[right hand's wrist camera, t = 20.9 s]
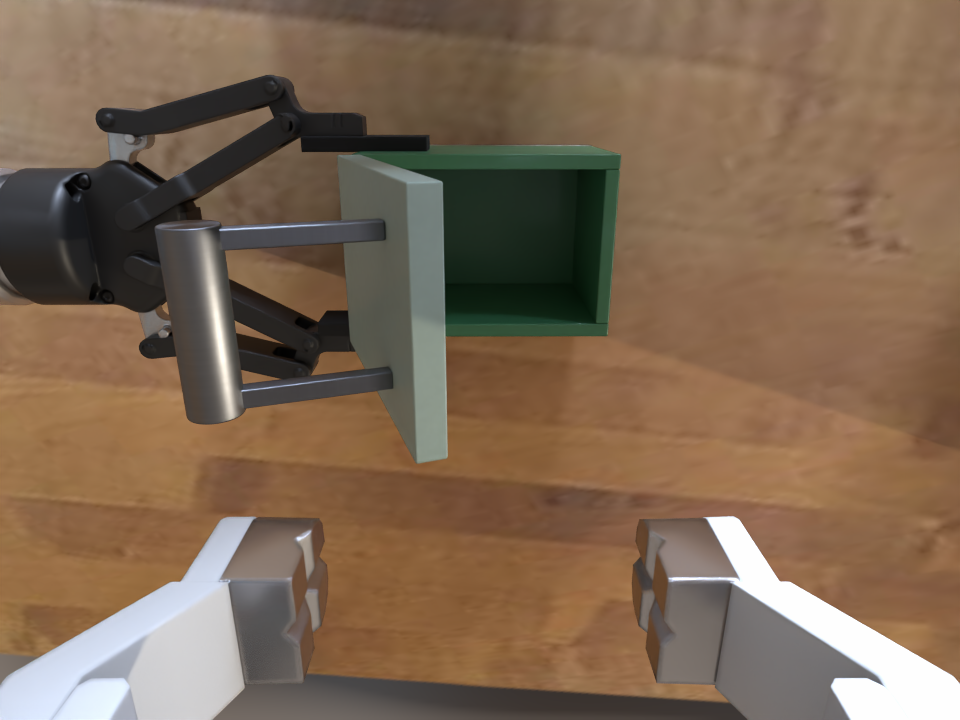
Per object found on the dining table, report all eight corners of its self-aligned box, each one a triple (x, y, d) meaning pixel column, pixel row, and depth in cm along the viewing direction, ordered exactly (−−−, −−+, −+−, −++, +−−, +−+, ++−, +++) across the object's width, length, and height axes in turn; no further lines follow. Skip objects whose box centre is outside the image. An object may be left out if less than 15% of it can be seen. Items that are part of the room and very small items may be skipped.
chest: (589, 144, 41) (621, 154, 32) (580, 291, 45) (608, 336, 36) (377, 144, 41) (351, 153, 32) (385, 291, 45) (363, 337, 36)
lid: (443, 181, 20) (132, 190, 17) (448, 459, 23) (187, 504, 20) (361, 154, 32) (171, 158, 29) (372, 339, 35) (202, 357, 32)
